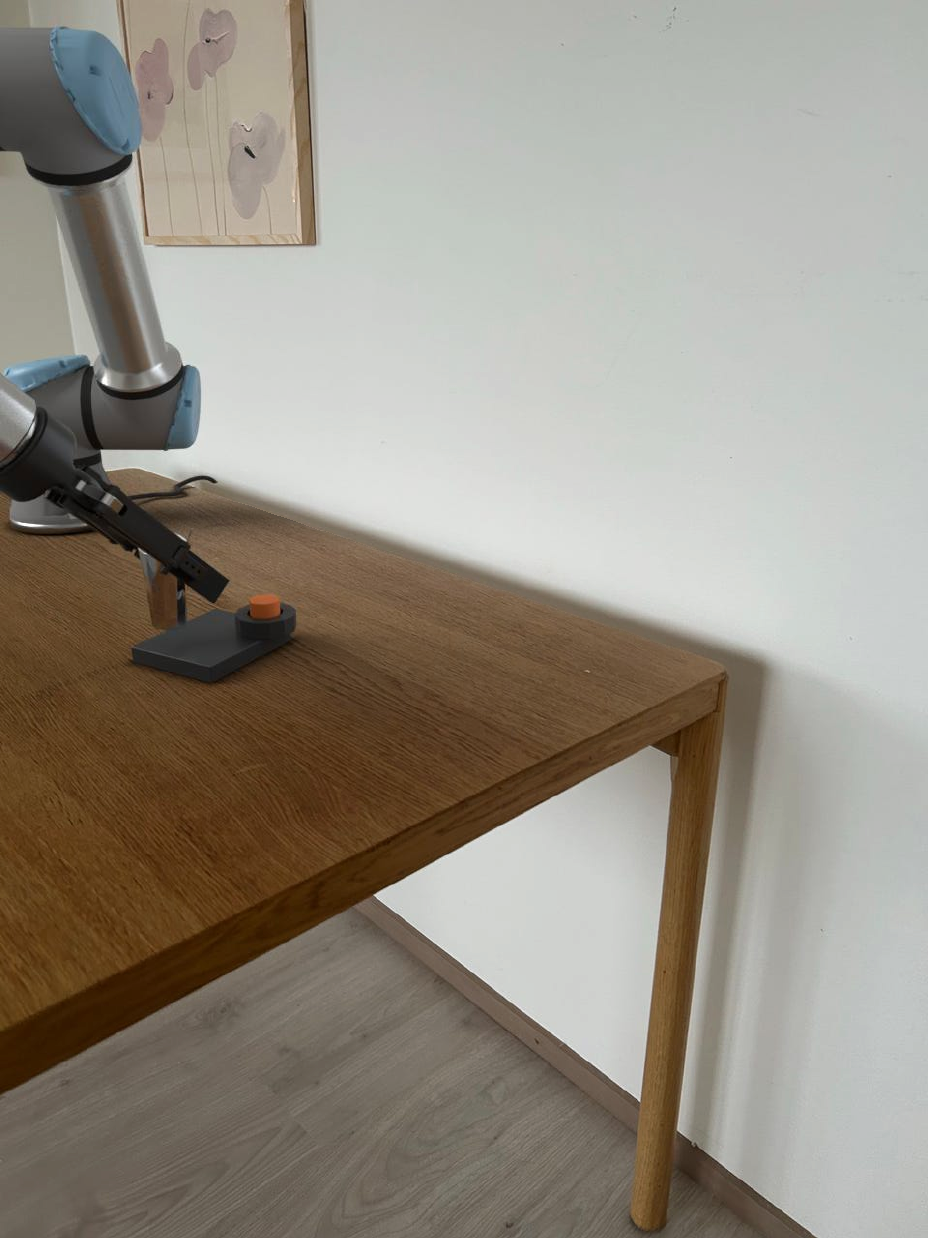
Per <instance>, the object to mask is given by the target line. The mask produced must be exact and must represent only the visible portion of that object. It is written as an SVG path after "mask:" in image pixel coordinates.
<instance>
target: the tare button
mask: <svg viewBox="0 0 928 1238" xmlns="http://www.w3.org/2000/svg"><path fill="white" fill-rule="evenodd" d="M280 603H281V600H280V597H279V596H278V595H275V594H271V593H270V594H267V593H264V594H257V595H254V596H252V597H250V598H249V599H248V605H249V606H250V616H251V617H253V618H257V619H268V618H273V617H277V616H279V615H280V614H281V613H280Z"/></svg>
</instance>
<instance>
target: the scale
mask: <svg viewBox="0 0 928 1238" xmlns="http://www.w3.org/2000/svg"><path fill="white" fill-rule="evenodd" d="M280 613H281V614H280V615H279V616H277V617H273V618H268V619H257V618H253V617H251V616H250V606H249V604H247V605H245V606H243V607H240V608H238V609H237V610H236V612H234V611H233V612H232V611H227V610H223V609H219V608H214V609H212V610H209V611H207V612H205V613H202V614H200V615H199V616H196V617H194V618H192V619H190V620H187V623H186V625H185V626H183V627H181V628H179V629H174V630H164V631H163V632H160V633H158V634H156V635H154V636H151V637H149V638H148V639H145V640H143V641H141V642H138V643H136V644H134V645H131V647H130V650H131V657H132V663H135V664H137V665H141V666H144V667H149V668H152V669H153V668H154V669H156V670H160V671H164V672H167V673H171V674H176V675H179V676H183V677H187V678H191V679H195V680H197V681H198V680H199V681H201V682H206V683H209V684H213V683H215V682H217V681H218V680H220V679H222V678H224V677H226V676H228V675H229V674H231V673H233V672H235V671H237V670H239V669H241V668H243V667H244V666H246V665H247V664H250V663H252V662H253V661H256V660H257V659H259V658H261V657H263V656H264V655H266V654H268V653H270V652H272V651H274V650H276V649H278V648H280V647H281V646H283V645H285V644H288V642H290V641H292V633H294V632H295V630H296V628H297V626H298V625H297V610H296V608H295V607H294V606H292V605H291V604H288V603H283V602H280Z"/></svg>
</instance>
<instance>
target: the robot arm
mask: <svg viewBox="0 0 928 1238" xmlns="http://www.w3.org/2000/svg"><path fill="white" fill-rule="evenodd" d="M139 109H140V103H139V100H138V95H137V91H136V89H135V85H134V81H133V78H132V77H131V73H130V71H129V69H128V66H127V64H126V62H125V59H124V58H123V56H122V54H121V53H120V51H119V49H118V47H117V46H116V45H115V44H114V43H113V42H112V41H111V40H110V39H109V38H108V37H107V36H106V35H105V34H103V33H101V32H99V31H96V30H91V29H76V28H70V27H67V26H64V25H63V26H61V25H57V26H55V27H21V26H19V27H16V26H14V27H12V26H11V27H9V26H1V27H0V152H10V153H11V152H13V153H14V152H15V153H19V154H20V155H21V157H22V160H23V163H24V165H25V169H26V172H27V174H28V176H29V177H30V178H31V179H32V180H33V181H35V182H36V183H38V184H40V185H42V186H44V187H45V188H47V192H48V194H49V197H50V201H51V204H52V207H53V210H54V212H55V213H54V214H55V217H56V220H57V223H58V226H59V229H60V232H61V235H62V239H63V241H64V245H65V248H66V251H67V254H68V258H69V261H70V263H71V267H72V270H73V273H74V276H75V280H76V282H77V286H78V288H79V292H80V295H81V298H82V302H83V304H84V307H85V311H86V314H87V317H88V321H89V323H90V326H91V329H92V333H93V337H94V339H95V342H96V345H97V348H98V352H99V354H98V356H97V357H96V358H95V360H94V362H93V365H91V360H90V359H89V357H88V355H86V354H73V355H61V356H56V357H48V358H42V359H36V360H31V361H25V362H21V363H17V364H13V365H10V366H8V367H7V368H6V369H4V371H3V372H2V373H1V372H0V493H2V494H4V495H5V496H7V497H8V498H10V500H11V505H10V507H9V523H10V526H11V528H12V529H13V530H15V531H17V532H22V533H26V534H34V535H35V534H36V535H60V534H61V535H62V534H74V533H80V532H89V531H92V530H93V531H95V532H97V533H98V534H99V535H101V536H102V537H103V538H105V539H106V540H108V542H109V543H110V544H112V545H117V546H118V545H119V546H120V547H121V548H122V549H123V550H124V551H125V552H129V553H132V552H133V551H134V550H135V551H134V553H133V556H134V557H135V558H137V559H138V560H140V556H139V551H138V548H140V549H141V550H142V551H144V552H145V553H147V554H148V555H150V556H151V557H153V558H154V559H156V560H157V561H159V562H160V563H161V564H162V566H161V568H160V569H159V572H160V573H162V574H164V575H167V574H168V572H169V573H171V574H172V575H174V576H175V577H176V578H178V579H179V580H180V581H182V582H183V583H185V584H186V585H187V588H190V589H192V590H193V591H194V592H196V593H197V594H198V595H200V596H201V597H203V598H204V599H205V600H206V601H208V602H210V603H211V604H213V605H214V604H216V603H217V601H218V600H219V598H220V596H221V595H222V594H223V592H224V590H225V589H226V587H227V585H228V584H229V582H231V580H230V579H229V578H227V577H226V576H224V575H223V574H222V573H221V572H220V571H218V570H217V569H216V568H214V567H213V566H212V565H210V564H209V563H207V562H206V561H205V560H204V559H202V558H201V557H200V556H199V555H197V554H196V553H195V552H193V551H192V550H191V548H192V546H191V545H192V544H190V542H187V541H185V540H183V539H181V538H180V537H179V536H177V535H176V534H177V533H176V532H174V531H172V529H170V528H169V527H167V526H166V525H165V524H164V523H162V522H160V520H158V519H157V518H156V517H154V515H152V514H150V513H149V512H148V511H147V510H145V509H144V508H143V507H141V505H138V503H137V502H135V500H142V499H150V498H168V497H169V498H170V497H178V496H181V495H183V493H184V490H183V489H182V487H184V486H187V485H188V484H190V483H194V482H197V481H207V482H210V483H211V484H218V483H219V482H218V481H217V480H216V479H215V478H214V477H211V476H208V475H195V476H191V477H189V478H187V479H184V480H182V481H180V482H178V483H176V484H174V485H173V491H160V492H159V491H158V492H147V493H139V494H132V495H127V494H126V493H124V491H122V490H121V487H119V486H118V485H115V484H114V483H113V484H112V482H111V480H110V478H109V476H108V474H107V472H106V470H105V468H104V464H103V457H102V451H164V452H167V451H170V450H185V449H189V448H191V447H192V446H193V445H194V444H195V442H196V440H197V438H198V434H199V428H200V421H201V412H202V411H201V410H202V409H201V408H202V381H201V374H200V371H199V369H198V368H197V367H196V366H195V365H191V364H186V365H184V363H183V360H182V356H181V352H180V351H179V350H178V348H177V347H175V346H174V345H173V344H172V343H171V342H168V341H166V339H165V334H164V331H163V326H162V322H161V319H160V315H159V311H158V306H157V303H156V299H155V295H154V291H153V287H152V283H151V279H150V275H149V271H148V267H147V264H146V260H145V256H144V252H143V251H144V250H143V246H142V243H141V239H140V235H139V231H138V227H137V223H136V220H135V215H134V212H133V211H134V210H133V207H132V203H131V200H130V199H131V198H130V194H129V192H128V187H127V184H126V179H125V176H126V174H127V173H128V172H129V171H130V170H131V168H132V166H133V164H134V156H133V153H135V152H137V151H138V150H139V148H140V146H141V144H142V137H143V127H142V125H143V124H142V118H141V115H140V112H139ZM175 533H176V534H175Z"/></svg>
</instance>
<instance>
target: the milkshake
mask: <svg viewBox="0 0 928 1238" xmlns="http://www.w3.org/2000/svg"><path fill="white" fill-rule="evenodd" d="M193 531H194V527H192V528H191V529H190V531H189V534H188V537H187V539H186V538H185V537H183V536H182V535H180V534H178V533H176V532H174V533H175V534H176V535H177V536H179V537H180V538H181V539H183V540H185V541H187V542H188V543H190V539H191V536H192V534H193ZM138 551H139V556H140V559H139V561H140V566H141V570H142V575H143V581H144V586H145V587H144V588H145V593H146V599H147V604H148V605H147V606H148V609H149V615H150V621H151V626H152V627H153V628H155V629H156V630H161V631H167V630H174V629H179V628H181V627H183V626H185V625H186V623H187V621H188V587H187V585H186V584H185V583H183V582H182V581H180V580H179V579H178V578H176V577H175V576H174V575H172V574H171V573H169V572H168V574H167V575H164V574H162V573H160V572H159V569H160V568H161V566H162V564H161V563H160V562H159V561H157V560H156V559H154V558H153V557H151V556H150V555H148V554H147V553H145V552H144V551H142V550H141V549H140V548H138Z"/></svg>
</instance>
